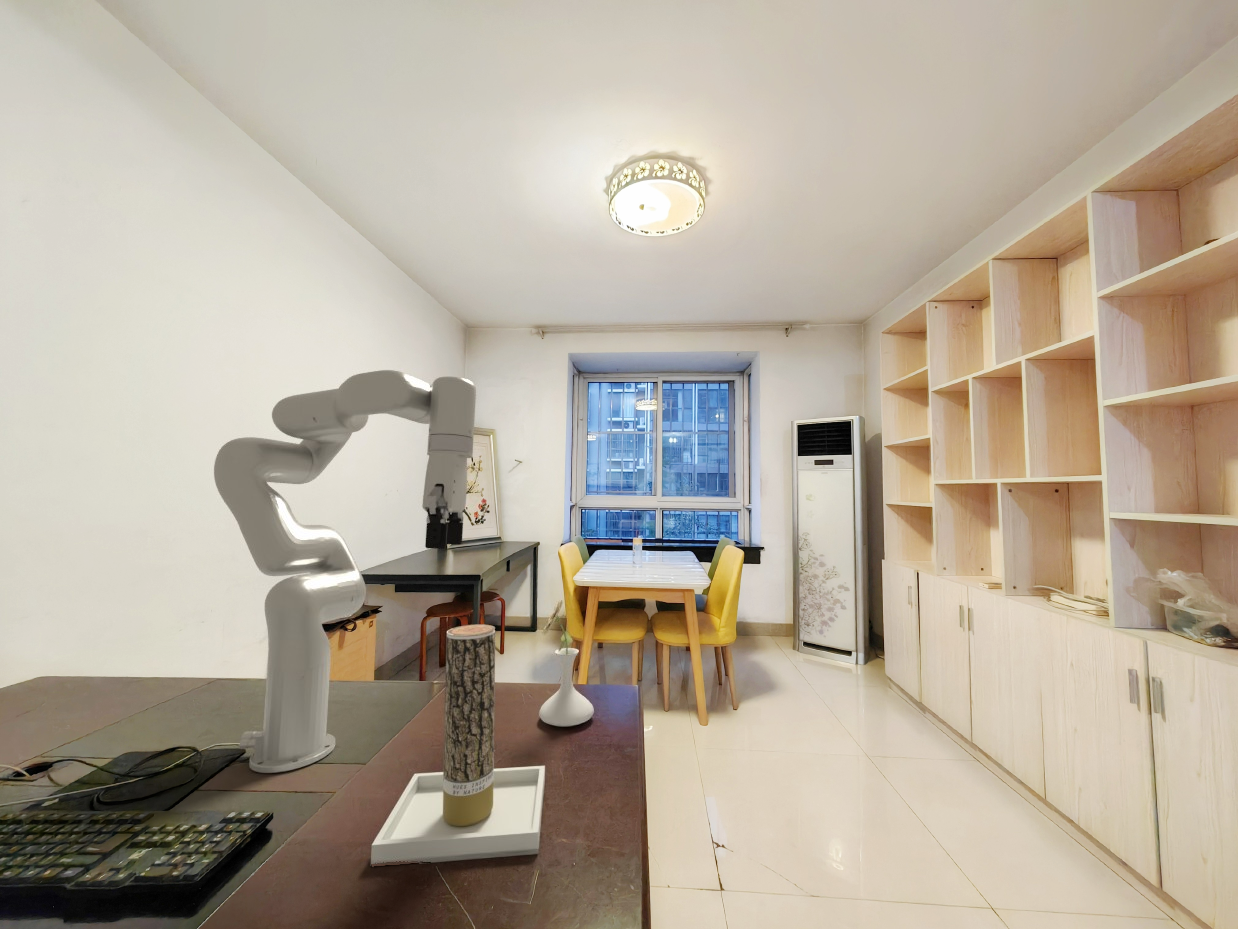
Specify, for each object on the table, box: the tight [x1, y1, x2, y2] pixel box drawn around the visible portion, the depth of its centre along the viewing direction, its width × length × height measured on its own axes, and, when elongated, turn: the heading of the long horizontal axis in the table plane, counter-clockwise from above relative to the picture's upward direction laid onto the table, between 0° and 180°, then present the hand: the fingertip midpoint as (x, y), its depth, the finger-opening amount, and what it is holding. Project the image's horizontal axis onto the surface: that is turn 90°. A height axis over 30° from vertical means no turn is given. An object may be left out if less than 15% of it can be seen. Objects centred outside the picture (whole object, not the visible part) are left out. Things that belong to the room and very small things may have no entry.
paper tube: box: [442, 624, 496, 827], centre depth 67 cm, size 7×7×25 cm
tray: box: [370, 765, 546, 865], centre depth 66 cm, size 20×16×2 cm
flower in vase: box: [538, 599, 595, 727], centre depth 98 cm, size 13×11×25 cm
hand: (444, 546), depth 81 cm, fingers open, 9 cm apart
